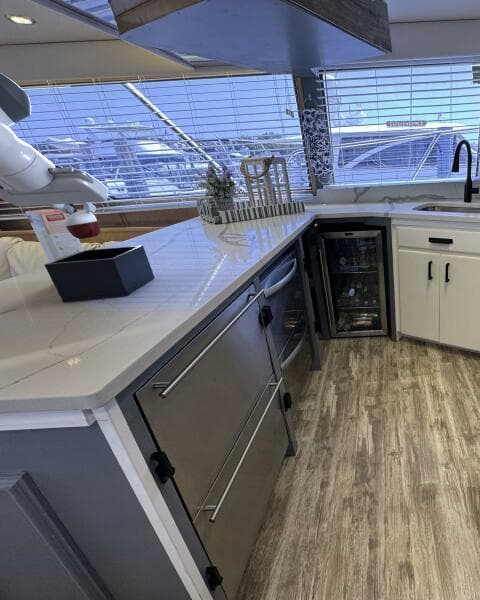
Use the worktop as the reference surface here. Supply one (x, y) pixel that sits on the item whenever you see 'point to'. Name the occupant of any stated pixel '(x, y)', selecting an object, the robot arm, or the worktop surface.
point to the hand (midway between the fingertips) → (81, 211)
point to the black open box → (100, 273)
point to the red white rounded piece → (82, 224)
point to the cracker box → (53, 233)
